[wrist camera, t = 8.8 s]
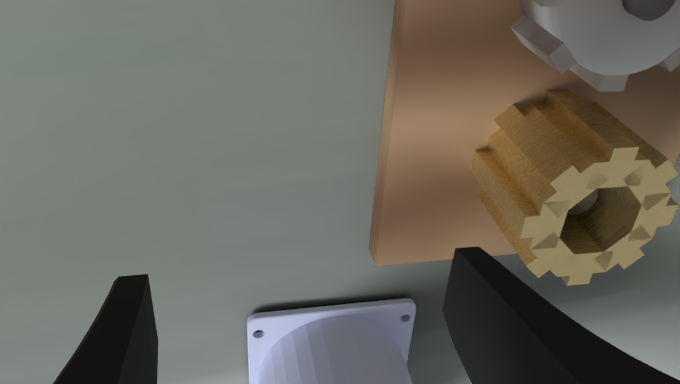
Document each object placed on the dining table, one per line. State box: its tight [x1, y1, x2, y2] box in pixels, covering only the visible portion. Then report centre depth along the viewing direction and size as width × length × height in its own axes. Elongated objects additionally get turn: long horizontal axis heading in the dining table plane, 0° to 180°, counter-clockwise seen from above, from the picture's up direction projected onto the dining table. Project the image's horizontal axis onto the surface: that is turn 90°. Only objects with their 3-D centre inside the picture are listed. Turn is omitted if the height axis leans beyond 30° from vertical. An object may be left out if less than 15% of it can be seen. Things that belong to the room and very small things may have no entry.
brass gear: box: [471, 89, 679, 286], centre depth 23 cm, size 6×6×4 cm
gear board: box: [369, 0, 680, 266], centre depth 21 cm, size 18×13×5 cm
